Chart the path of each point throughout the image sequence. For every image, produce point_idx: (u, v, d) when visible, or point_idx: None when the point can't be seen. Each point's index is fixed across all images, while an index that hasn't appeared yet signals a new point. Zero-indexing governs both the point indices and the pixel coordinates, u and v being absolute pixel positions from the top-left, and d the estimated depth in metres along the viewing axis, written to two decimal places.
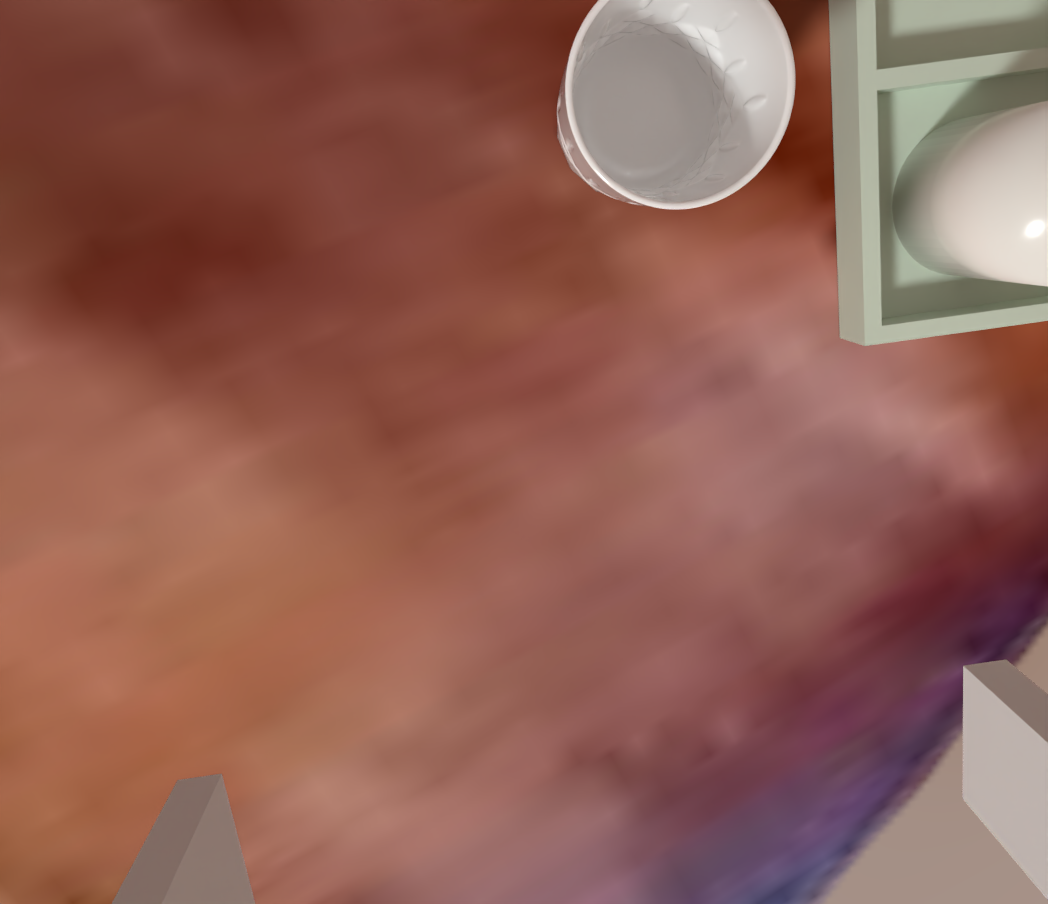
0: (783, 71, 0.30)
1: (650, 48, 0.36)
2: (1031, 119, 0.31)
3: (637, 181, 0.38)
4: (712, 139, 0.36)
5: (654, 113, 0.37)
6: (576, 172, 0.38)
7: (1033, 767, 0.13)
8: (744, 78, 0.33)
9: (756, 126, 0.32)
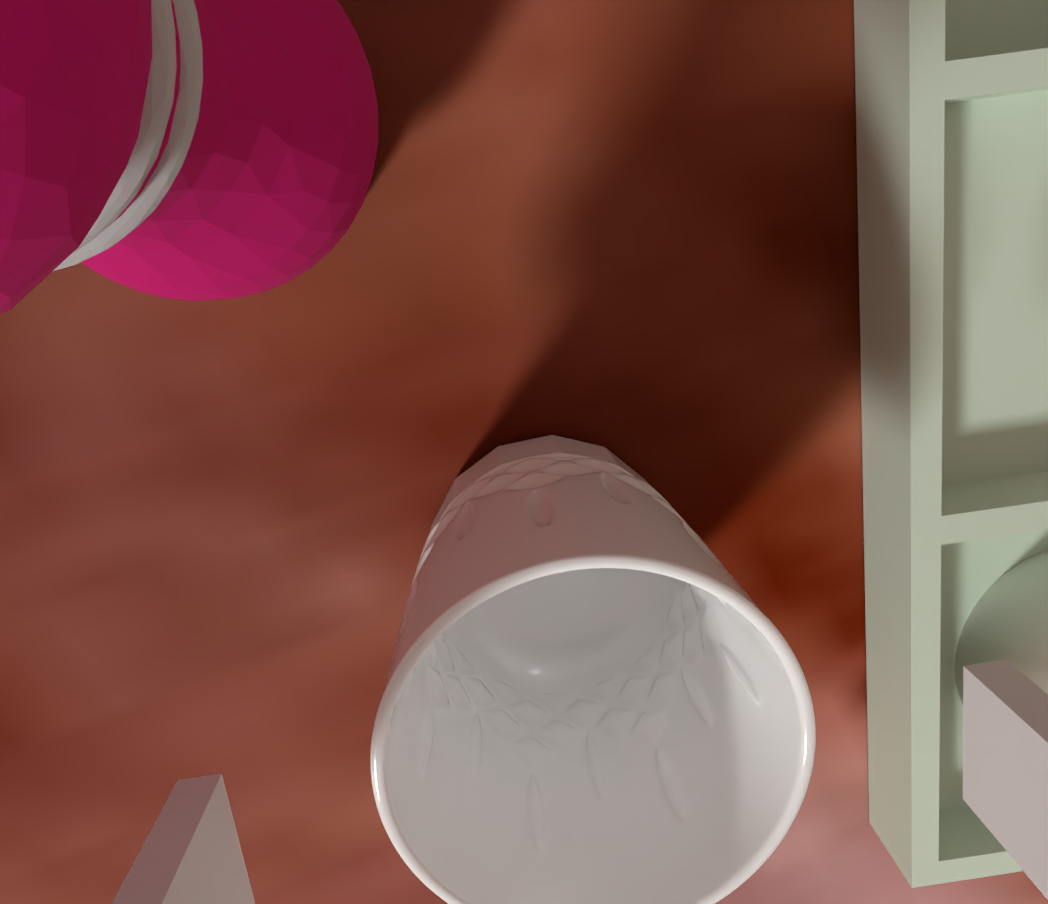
0: (792, 712, 0.16)
1: None
2: None
3: (554, 669, 0.23)
4: (672, 628, 0.22)
5: None
6: None
7: (1034, 766, 0.13)
8: (722, 611, 0.19)
9: (742, 729, 0.18)
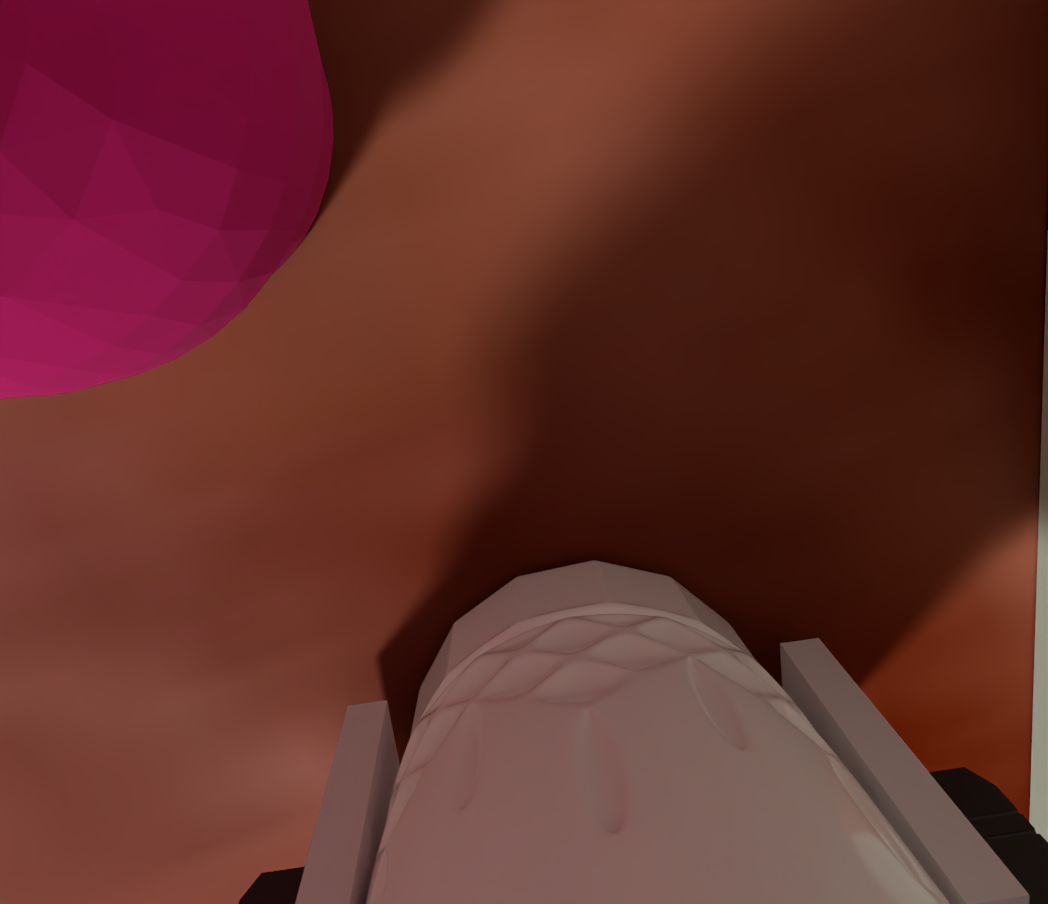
0: None
1: None
2: None
3: None
4: None
5: None
6: None
7: (821, 731, 0.15)
8: None
9: None
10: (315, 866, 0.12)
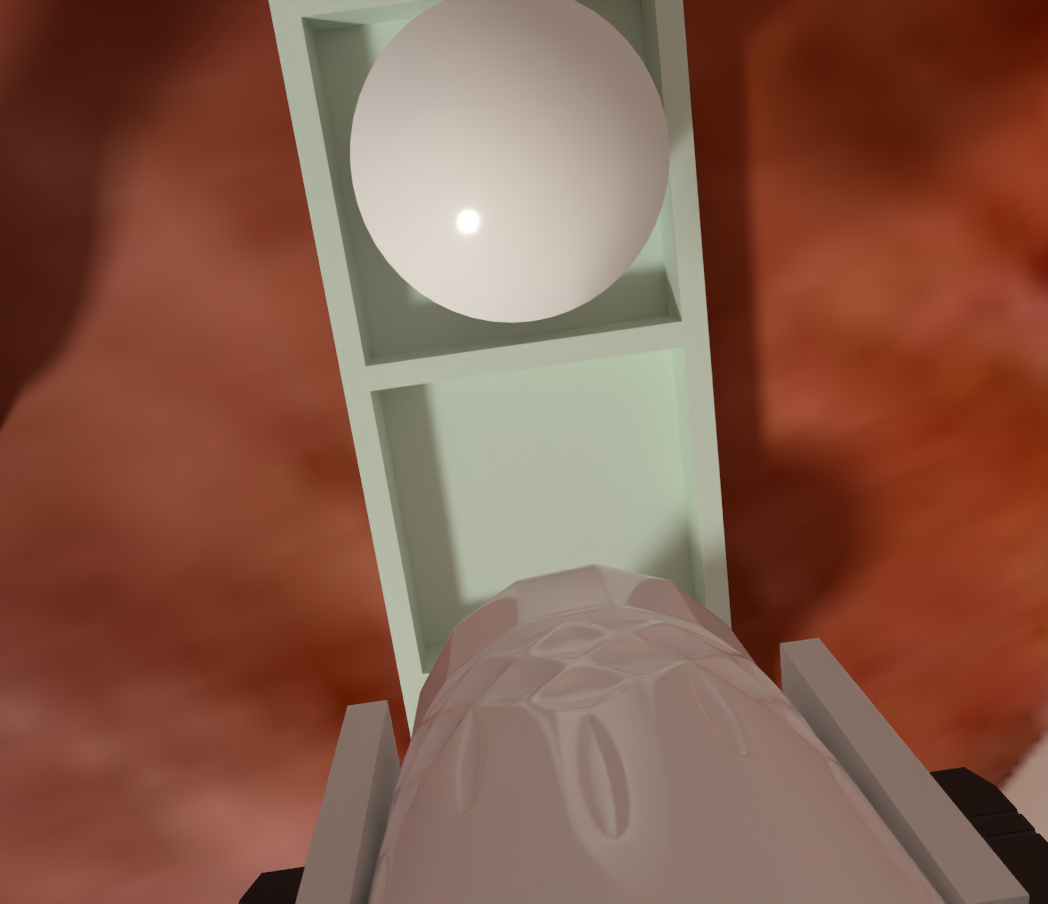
0: None
1: None
2: None
3: None
4: None
5: None
6: None
7: (821, 731, 0.15)
8: None
9: None
10: (315, 866, 0.12)
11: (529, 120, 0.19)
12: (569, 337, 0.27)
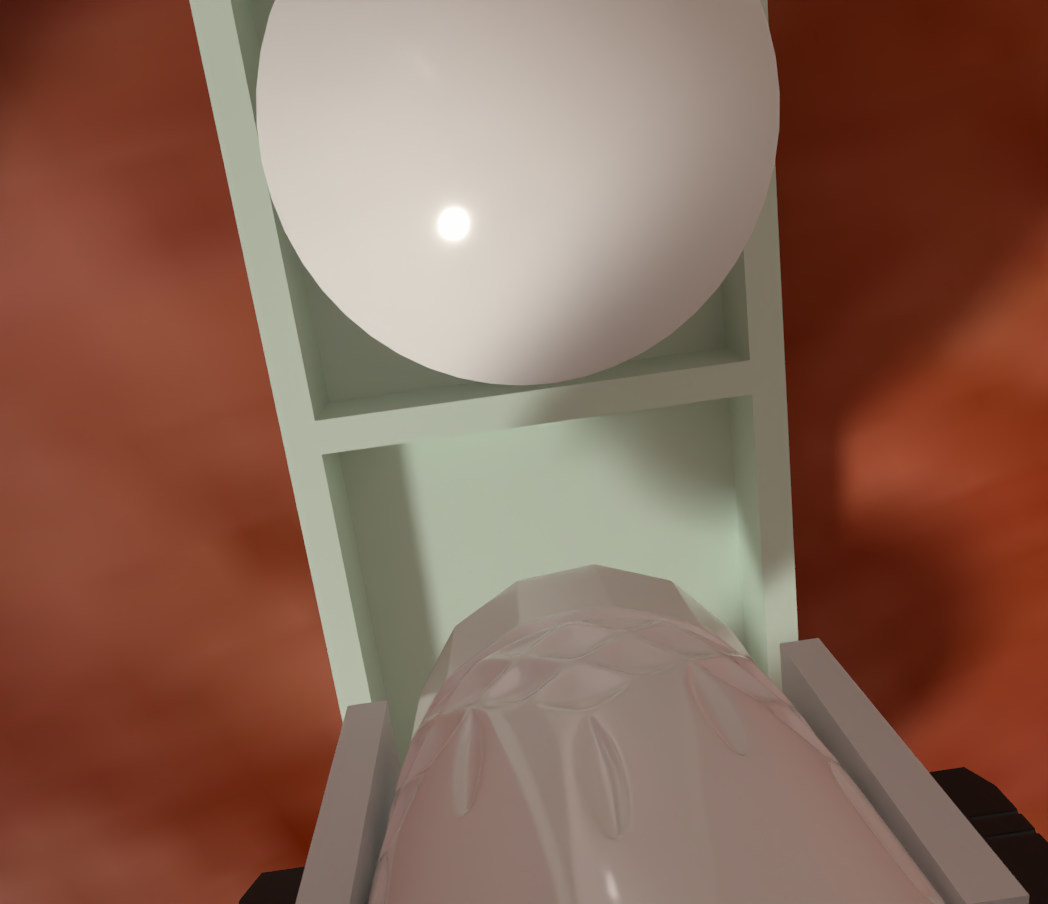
0: None
1: None
2: None
3: None
4: None
5: None
6: None
7: (821, 731, 0.15)
8: None
9: None
10: (315, 866, 0.12)
11: (553, 57, 0.11)
12: (595, 381, 0.20)
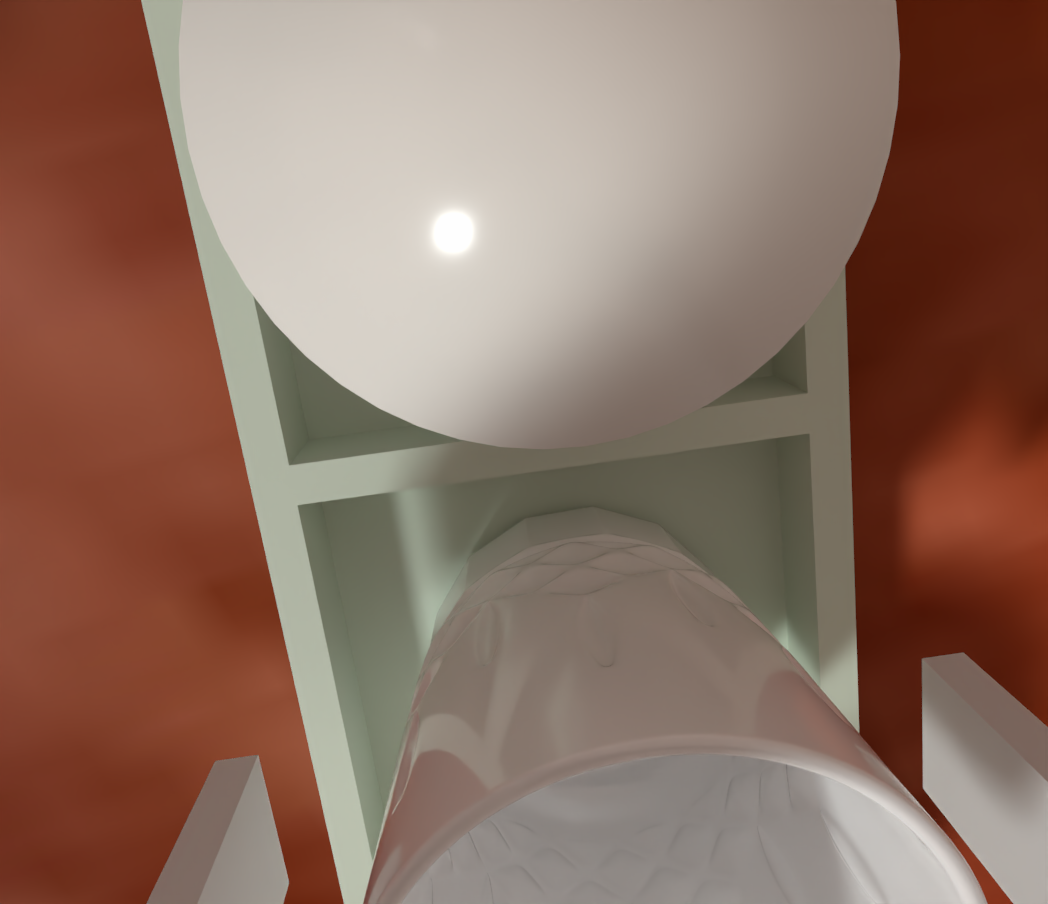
0: None
1: None
2: None
3: (585, 805, 0.18)
4: (742, 765, 0.17)
5: None
6: None
7: (984, 755, 0.14)
8: None
9: None
10: None
11: (590, 3, 0.08)
12: None
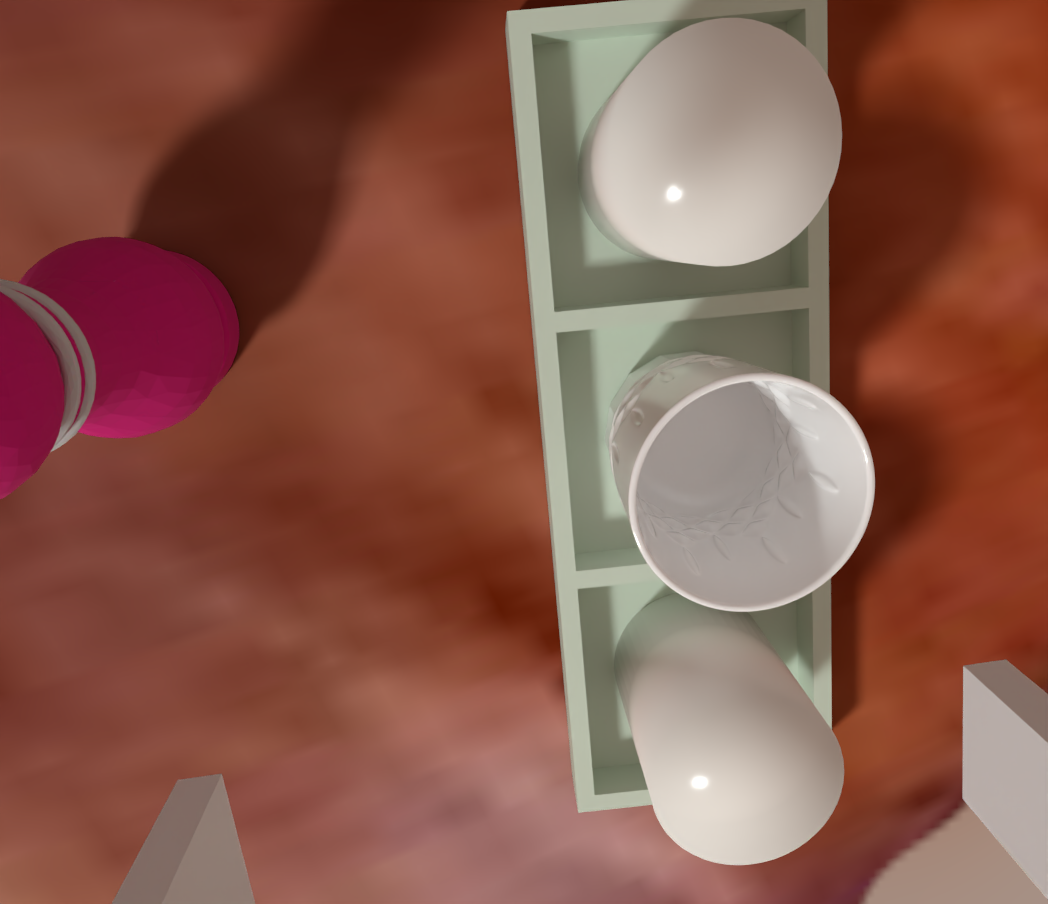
0: (861, 482, 0.28)
1: None
2: (680, 700, 0.31)
3: (685, 503, 0.35)
4: (769, 476, 0.34)
5: (709, 436, 0.35)
6: None
7: (1034, 767, 0.13)
8: (813, 447, 0.31)
9: (824, 511, 0.30)
10: None
11: (742, 115, 0.25)
12: (717, 296, 0.34)
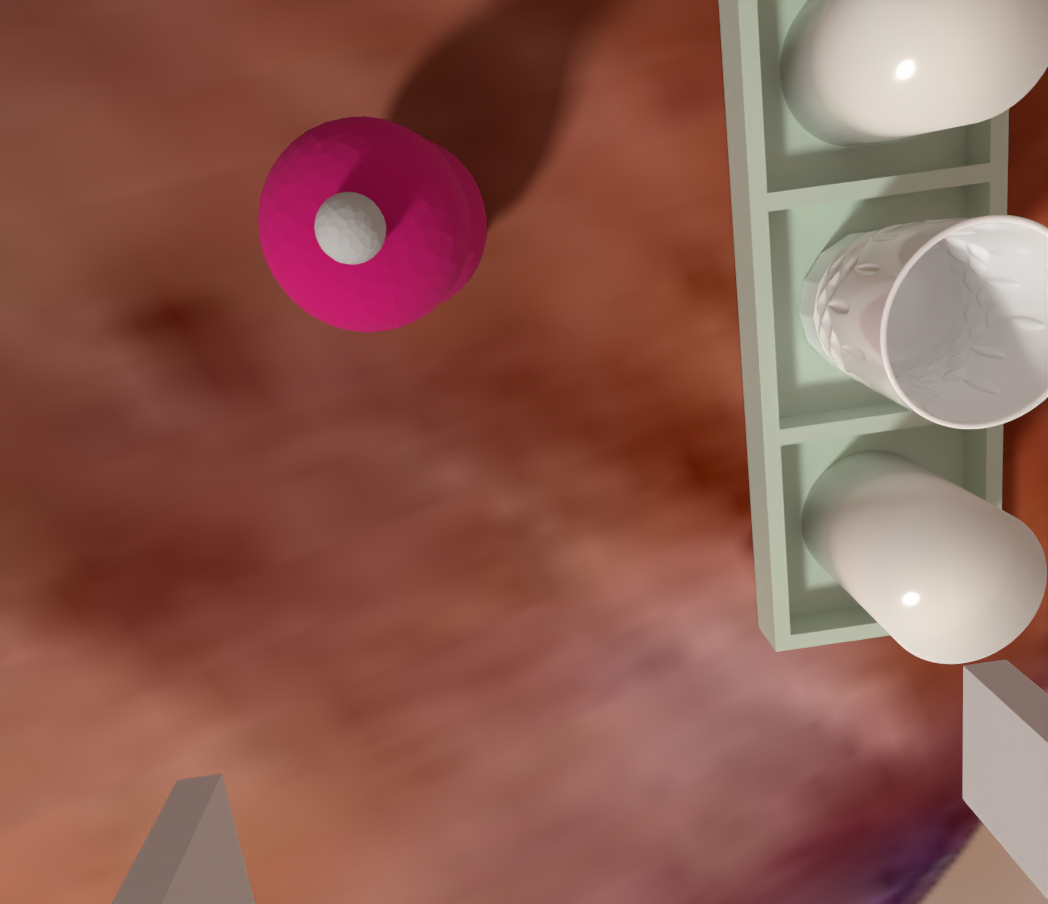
0: None
1: None
2: (901, 521, 0.36)
3: None
4: (957, 333, 0.39)
5: (898, 302, 0.40)
6: (816, 348, 0.41)
7: (1033, 766, 0.13)
8: (1012, 296, 0.36)
9: (1029, 347, 0.34)
10: None
11: None
12: (910, 174, 0.38)
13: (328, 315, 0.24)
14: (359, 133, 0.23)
